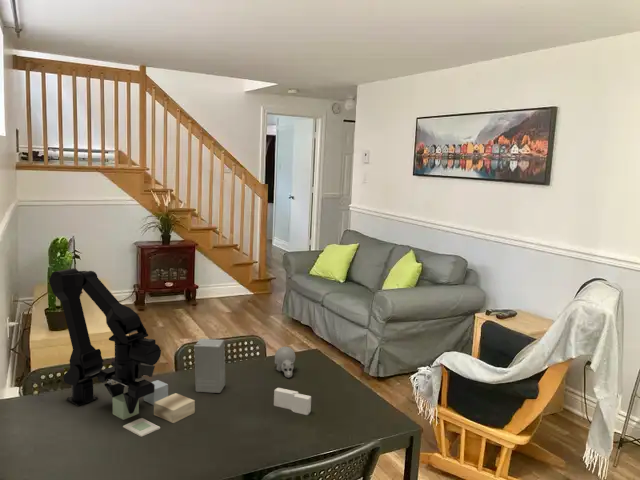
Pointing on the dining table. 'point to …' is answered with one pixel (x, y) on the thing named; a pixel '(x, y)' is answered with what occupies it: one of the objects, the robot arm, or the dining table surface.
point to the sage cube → (123, 407)
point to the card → (141, 427)
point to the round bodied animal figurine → (285, 360)
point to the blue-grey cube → (157, 392)
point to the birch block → (174, 407)
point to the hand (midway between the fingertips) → (125, 410)
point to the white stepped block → (292, 401)
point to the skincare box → (209, 365)
